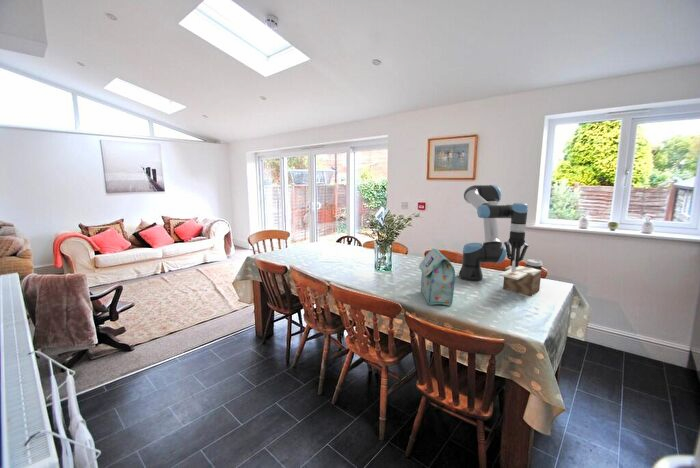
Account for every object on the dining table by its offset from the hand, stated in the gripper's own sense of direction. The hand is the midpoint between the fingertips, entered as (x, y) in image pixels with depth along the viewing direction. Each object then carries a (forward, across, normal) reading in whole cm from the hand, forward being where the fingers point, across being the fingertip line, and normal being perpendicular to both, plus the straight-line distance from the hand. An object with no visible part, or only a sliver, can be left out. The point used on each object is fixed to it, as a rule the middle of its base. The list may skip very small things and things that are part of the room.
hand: (513, 271), depth 180 cm
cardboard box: (+14, 0, +13) cm, 19 cm away
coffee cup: (+14, 0, +30) cm, 33 cm away
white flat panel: (+2, 0, 0) cm, 2 cm away
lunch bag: (+14, -26, -37) cm, 48 cm away
